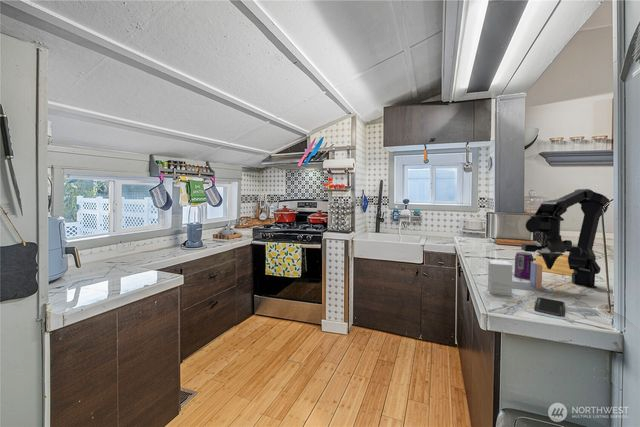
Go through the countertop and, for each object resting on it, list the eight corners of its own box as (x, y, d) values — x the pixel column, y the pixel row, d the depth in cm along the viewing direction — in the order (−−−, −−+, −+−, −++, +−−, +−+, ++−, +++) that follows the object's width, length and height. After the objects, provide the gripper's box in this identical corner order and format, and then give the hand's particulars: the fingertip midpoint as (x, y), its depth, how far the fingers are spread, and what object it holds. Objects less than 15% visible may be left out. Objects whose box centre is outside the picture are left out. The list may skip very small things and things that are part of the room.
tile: (536, 285, 121) (537, 262, 121) (541, 289, 116) (542, 265, 115) (529, 284, 122) (530, 261, 122) (535, 288, 117) (535, 264, 116)
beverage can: (535, 280, 130) (536, 255, 129) (518, 279, 131) (519, 254, 131) (527, 276, 137) (528, 252, 136) (511, 275, 138) (512, 251, 137)
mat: (538, 284, 124) (539, 283, 124) (550, 293, 112) (550, 292, 112) (501, 281, 128) (502, 280, 128) (509, 289, 117) (509, 288, 117)
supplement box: (508, 291, 115) (509, 261, 114) (511, 297, 108) (512, 265, 108) (487, 289, 118) (488, 259, 118) (489, 294, 112) (490, 263, 111)
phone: (533, 308, 95) (537, 296, 107) (533, 312, 96) (537, 299, 107) (564, 315, 90) (565, 301, 101) (564, 318, 90) (564, 304, 102)
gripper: (530, 233, 112) (529, 271, 113) (590, 235, 105) (588, 276, 106) (521, 230, 122) (520, 265, 123) (575, 231, 116) (573, 269, 117)
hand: (549, 269), depth 117 cm, fingers closed
